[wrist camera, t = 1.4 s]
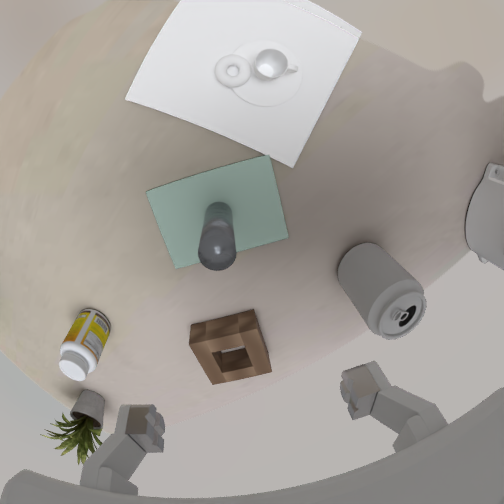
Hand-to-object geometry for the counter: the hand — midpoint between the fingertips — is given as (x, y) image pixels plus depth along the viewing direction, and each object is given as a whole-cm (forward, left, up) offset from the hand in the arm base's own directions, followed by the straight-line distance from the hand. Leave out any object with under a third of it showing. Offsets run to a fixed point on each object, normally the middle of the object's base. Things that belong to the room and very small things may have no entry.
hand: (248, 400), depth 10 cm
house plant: (+37, +26, -24) cm, 51 cm away
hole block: (+5, +18, -23) cm, 30 cm away
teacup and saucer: (-7, -18, -24) cm, 30 cm away
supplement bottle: (+24, +9, -24) cm, 35 cm away
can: (-15, +11, -24) cm, 30 cm away
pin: (+1, -1, -23) cm, 23 cm away
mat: (+1, -1, -23) cm, 23 cm away
